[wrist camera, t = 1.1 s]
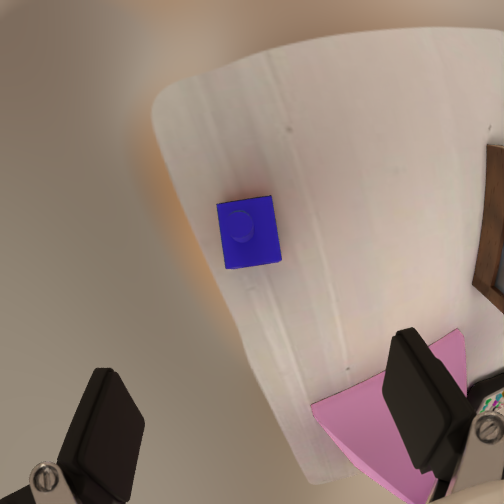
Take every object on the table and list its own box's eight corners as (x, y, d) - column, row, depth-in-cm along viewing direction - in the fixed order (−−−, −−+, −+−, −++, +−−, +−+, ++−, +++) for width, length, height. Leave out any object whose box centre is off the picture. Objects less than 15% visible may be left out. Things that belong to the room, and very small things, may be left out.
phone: (469, 381, 34) (482, 400, 30) (529, 349, 34) (542, 364, 30) (451, 419, 39) (461, 437, 35) (509, 389, 38) (520, 403, 34)
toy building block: (269, 210, 25) (272, 183, 17) (278, 262, 25) (285, 259, 17) (225, 217, 25) (209, 193, 17) (233, 269, 25) (219, 269, 17)
